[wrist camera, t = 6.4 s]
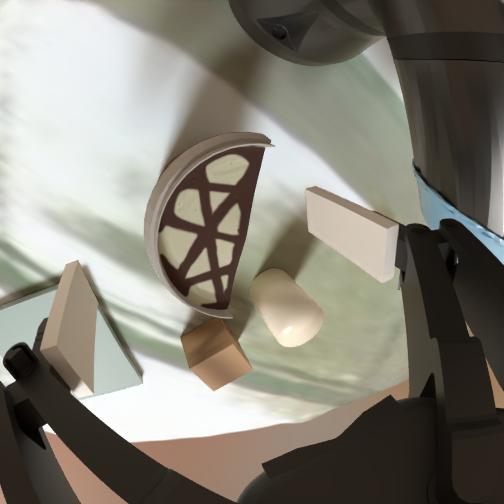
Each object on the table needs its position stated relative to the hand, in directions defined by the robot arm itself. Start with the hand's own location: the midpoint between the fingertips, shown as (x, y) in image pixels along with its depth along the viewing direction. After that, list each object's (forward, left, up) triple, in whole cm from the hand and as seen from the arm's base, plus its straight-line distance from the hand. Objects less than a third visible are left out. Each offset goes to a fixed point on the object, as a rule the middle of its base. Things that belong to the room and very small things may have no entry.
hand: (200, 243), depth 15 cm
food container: (0, 0, -11) cm, 11 cm away
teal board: (+18, +12, -11) cm, 24 cm away
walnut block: (+1, +17, -11) cm, 20 cm away
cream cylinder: (-7, +13, -11) cm, 18 cm away
